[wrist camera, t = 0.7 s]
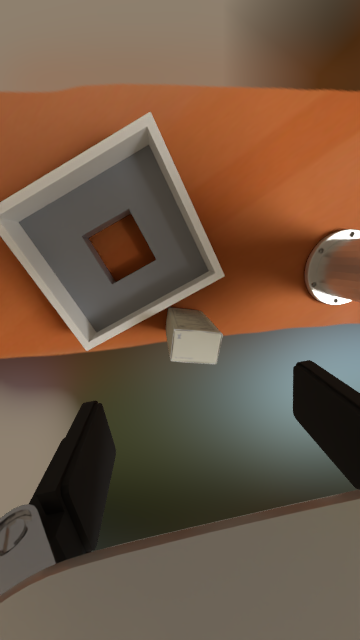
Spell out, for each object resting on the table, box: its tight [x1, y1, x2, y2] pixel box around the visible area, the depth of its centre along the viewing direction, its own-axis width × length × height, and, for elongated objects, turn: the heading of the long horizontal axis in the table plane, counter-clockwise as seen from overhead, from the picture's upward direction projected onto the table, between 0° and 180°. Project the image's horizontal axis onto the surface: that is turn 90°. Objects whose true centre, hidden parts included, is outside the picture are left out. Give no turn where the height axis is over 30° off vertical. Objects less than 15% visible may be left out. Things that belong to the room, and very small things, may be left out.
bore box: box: [0, 112, 225, 351], centre depth 30 cm, size 22×20×7 cm
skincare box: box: [166, 307, 223, 364], centre depth 32 cm, size 6×4×12 cm
